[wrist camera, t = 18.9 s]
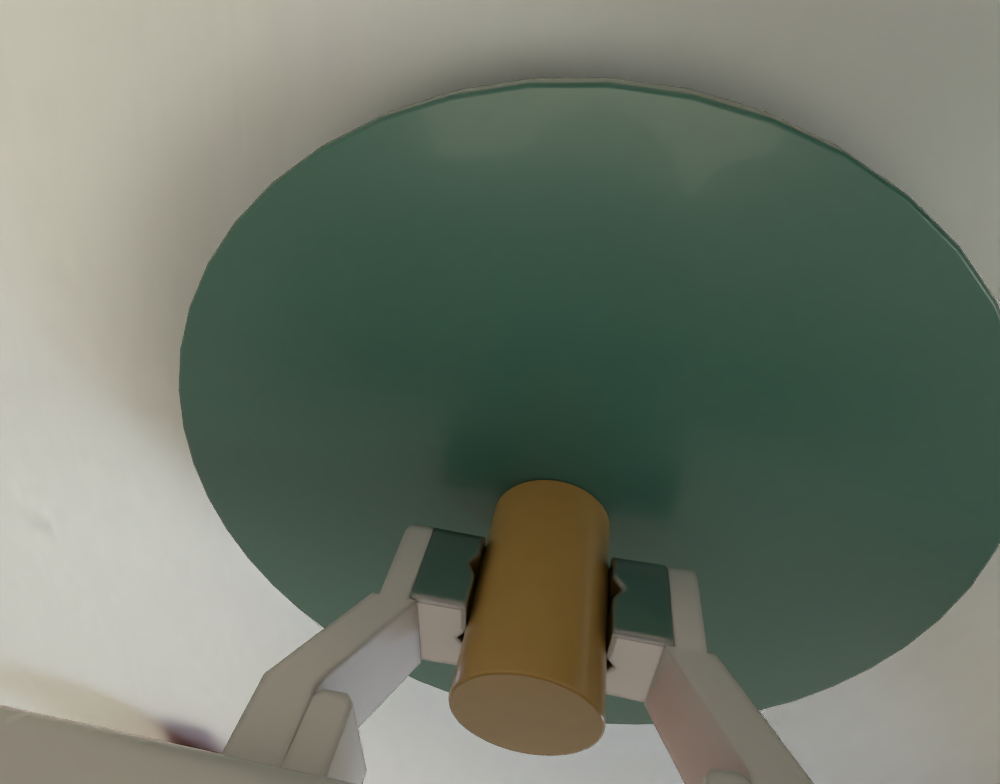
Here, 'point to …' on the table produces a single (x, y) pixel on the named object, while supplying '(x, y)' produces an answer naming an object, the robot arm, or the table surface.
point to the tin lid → (602, 388)
